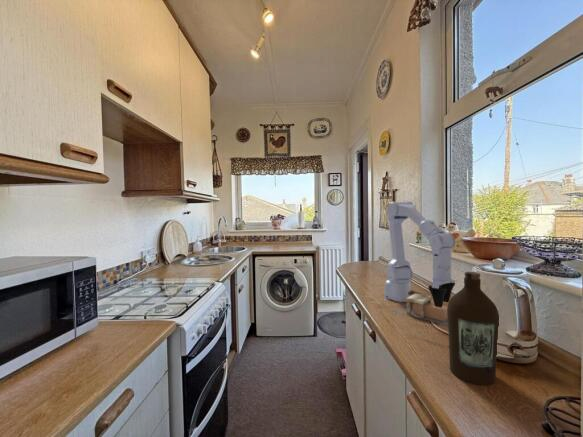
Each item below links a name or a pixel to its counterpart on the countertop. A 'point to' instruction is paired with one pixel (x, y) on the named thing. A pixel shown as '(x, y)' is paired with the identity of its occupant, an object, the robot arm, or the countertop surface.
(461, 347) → the olive oil
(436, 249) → the robot arm
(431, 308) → the terracotta block
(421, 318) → the board
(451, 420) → the countertop surface
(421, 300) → the wooden tunnel
